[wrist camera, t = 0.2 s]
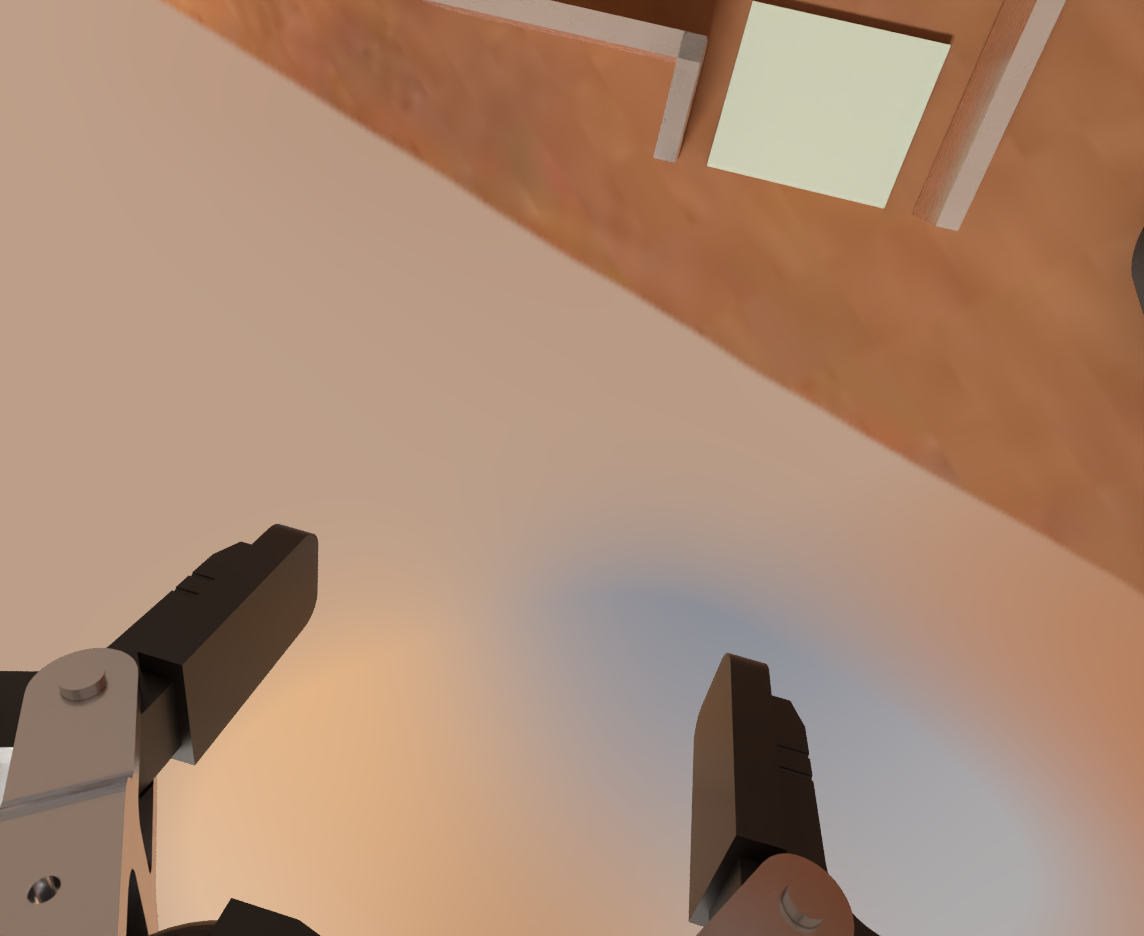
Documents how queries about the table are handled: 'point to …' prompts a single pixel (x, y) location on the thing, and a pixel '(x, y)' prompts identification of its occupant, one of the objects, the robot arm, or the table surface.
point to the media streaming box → (1139, 269)
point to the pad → (824, 103)
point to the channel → (529, 6)
